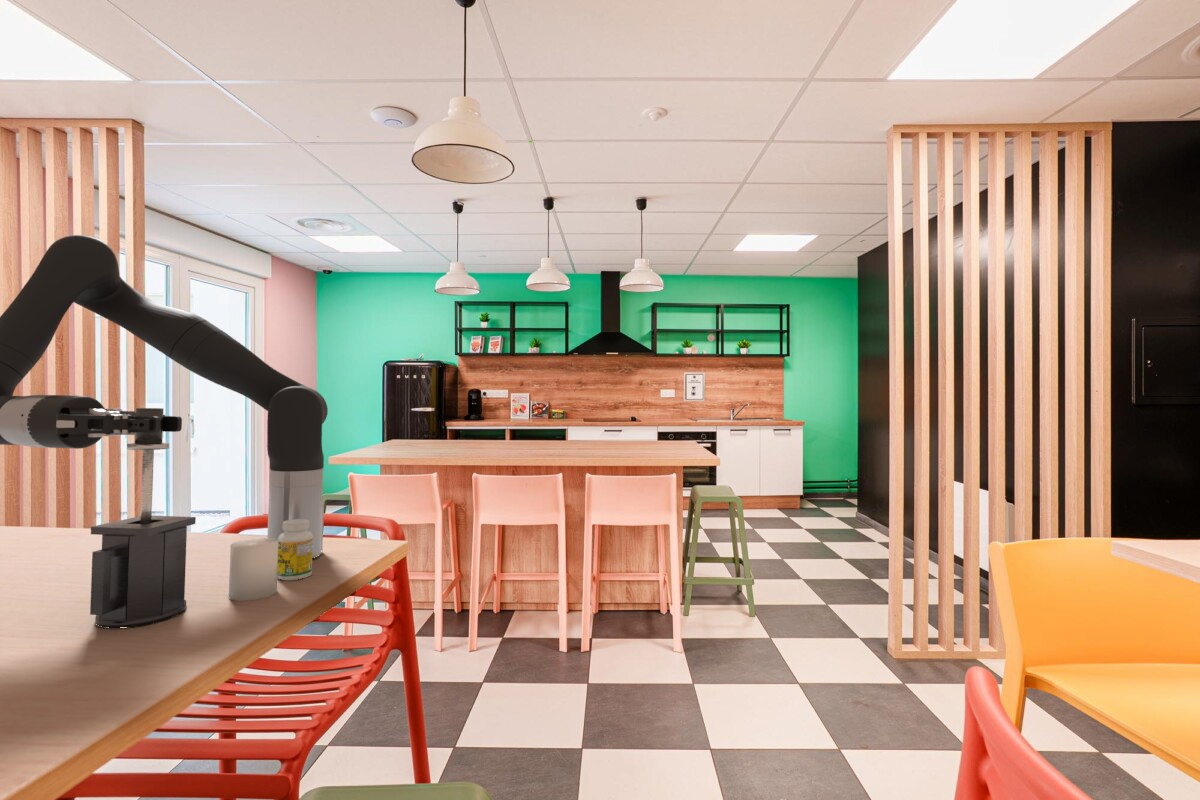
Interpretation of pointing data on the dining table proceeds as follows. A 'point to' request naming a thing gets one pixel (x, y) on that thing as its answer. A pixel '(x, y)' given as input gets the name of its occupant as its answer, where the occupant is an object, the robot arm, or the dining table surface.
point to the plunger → (148, 459)
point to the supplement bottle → (295, 550)
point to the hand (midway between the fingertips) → (168, 424)
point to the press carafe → (139, 571)
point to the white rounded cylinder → (253, 569)
